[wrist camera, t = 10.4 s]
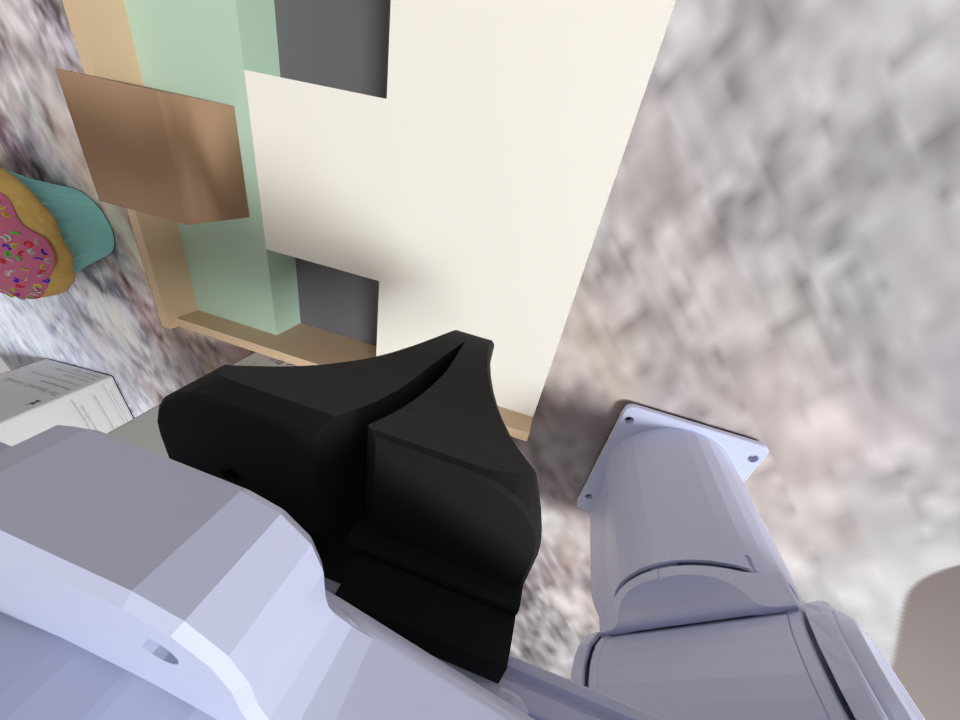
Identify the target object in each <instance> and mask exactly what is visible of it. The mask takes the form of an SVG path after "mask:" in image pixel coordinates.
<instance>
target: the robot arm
mask: <svg viewBox="0 0 960 720" xmlns="http://www.w3.org/2000/svg"><path fill="white" fill-rule="evenodd" d="M493 349H494V343H493V341H492V340H489V339H485V338H482V337H478V336H475V335H472V334H468V333H465V332H461V331H458V330H454V331H451V332H448V333H445V334H443V335H440V336H438V337H435V338H433V339H430V340H427V341H425V342H422V343H419V344H417V345H414V346H411V347H407V348H404V349H401V350H398V351H395V352H392V353H388V354H384V355H380V356H376V357H371V358H366V359H361V360H355V361H347V362H339V363H332V364H323V365H308V366H274V367H273V366H236V365H224V366H222V367H220V368H218V369H216V370H214V371H212V372H210V373H209V374H207V375H205V376H203V377H201V378H199V379H197V380H196V381H194V382H192V383H190V384H188V385H186V386H184V387H183V388H181V389H179V390H177V391H175V392H173V393H171V394H170V395H168V396H166V397H165V398H164V399H163V401H162V402H161V404H160V405H159V410H158V420H157V422H158V426H159V431H160V435H161V437H162V440H163V443H164V445H165V448H166V451H167V453H168V456H169V458H167V457H164V456H162V455H159V454H157V453H154V452H152V451H149V450H146V449H144V448H141V447H139V446H136V445H134V444H131V443H129V442H126V441H124V440H121V439H119V438H116V437H113V436H111V435H108V434H106V433H103V432H101V431H98V430H92V429H86V428H80V427H74V426H64V425H56V426H54V427H52V428H50V429H48V430H45V431H43V432H41V433H39V434H37V435H35V436H33V437H31V438H29V439H26V440H24V441H22V442H20V443H18V444H16V445H14V446H10V445H7V444H5V443H3V442H0V720H925V719H924V717H923V715H922V714H921V712H920V711H919V709H918V708H917V706H916V705H915V703H914V702H913V700H912V699H911V697H910V696H909V694H908V693H907V691H906V689H905V688H904V686H903V685H902V683H901V682H900V680H899V679H898V677H897V676H896V674H895V673H894V671H893V670H892V668H891V667H890V665H889V664H888V662H887V661H886V660H885V658H884V657H883V655H882V654H881V652H880V651H879V649H878V648H877V646H876V645H875V644H874V642H873V641H872V639H871V638H870V637H869V635H868V634H867V633H866V631H865V630H864V629H863V627H862V626H861V625H860V624H859V623H858V621H856V620H855V619H853V618H852V617H850V616H848V615H846V614H844V613H842V612H840V611H838V610H835V609H834V608H833V607H832V606H831V605H830V604H829V603H827V602H825V601H822V600H818V601H815V602H811V603H805V602H804V600H803V598H802V596H801V594H800V592H799V591H798V589H797V587H796V585H795V583H794V581H793V579H792V577H791V575H790V573H789V571H788V569H787V567H786V565H785V563H784V561H783V559H782V557H781V555H780V553H779V551H778V549H777V547H776V546H775V544H774V542H773V540H772V538H771V536H770V534H769V532H768V530H767V528H766V526H765V524H764V522H763V520H762V518H761V516H760V514H759V512H758V510H757V508H756V506H755V504H754V503H753V501H752V499H751V497H750V495H749V493H748V491H747V489H746V487H745V485H744V482H745V481H746V480H747V478H748V477H749V476H750V475H751V474H752V472H753V471H754V470H755V469H756V468H757V467H758V465H759V464H760V463H761V462H762V461H763V459H764V458H765V457H766V456H767V455H768V453H769V450H768V448H767V447H766V445H765V444H764V443H762V442H759V441H756V440H753V439H749V438H746V437H743V436H739V435H736V434H733V433H729V432H726V431H723V430H719V429H716V428H713V427H710V426H706V425H703V424H700V423H696V422H693V421H690V420H686V419H683V418H680V417H676V416H673V415H670V414H667V413H663V412H660V411H657V410H653V409H650V408H647V407H643V406H640V405H637V404H628V405H626V406H625V407H624V408H623V410H622V412H621V414H620V416H619V418H618V420H617V422H616V424H615V426H614V428H613V430H612V432H611V434H610V436H609V438H608V440H607V442H606V443H605V445H604V447H603V449H602V451H601V453H600V455H599V457H598V459H597V461H596V463H595V465H594V467H593V469H592V471H591V473H590V475H589V477H588V479H587V481H586V483H585V485H584V487H583V489H582V491H581V493H580V495H579V497H578V499H577V506H578V508H580V509H581V510H584V511H587V512H590V551H591V592H592V598H593V602H594V605H595V608H596V611H597V613H598V615H599V622H600V632H595V633H591V634H589V635H588V636H586V637H585V638H584V639H583V640H582V642H581V643H580V645H579V647H578V649H577V652H576V654H575V658H574V662H573V667H572V673H571V678H570V680H568V679H566V678H564V677H561V676H559V675H557V674H554V673H552V672H549V671H547V670H545V669H542V668H540V667H537V666H535V665H533V664H530V663H528V662H526V661H523V660H521V659H518V658H516V657H514V656H511V655H509V653H510V647H511V641H512V634H513V628H514V622H515V616H516V615H517V613H518V610H519V607H520V601H521V595H522V588H523V584H524V582H525V580H526V578H527V576H528V574H529V571H530V569H531V567H532V565H533V563H534V561H535V559H536V557H537V555H538V551H539V548H540V543H541V531H542V525H541V505H540V496H539V489H538V483H537V477H536V473H535V471H534V469H533V468H532V467H531V465H530V464H529V463H528V462H527V460H526V459H525V458H524V456H523V455H522V454H521V452H520V451H519V450H518V448H517V447H516V445H515V443H514V442H513V440H512V438H511V436H510V434H509V432H508V430H507V428H506V426H505V424H504V422H503V419H502V417H501V414H500V412H499V409H498V406H497V403H496V399H495V396H494V391H493V386H492V380H491V370H490V362H491V358H492V353H493ZM626 417H632V419H631V420H626V419H625V418H626ZM752 455H755V456H754V457H751V458H749V456H752ZM587 494H591V495H587Z"/></svg>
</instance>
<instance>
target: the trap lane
mask: <svg viewBox="0 0 960 720" xmlns="http://www.w3.org/2000/svg"><path fill="white" fill-rule="evenodd" d="M62 1H63V4H64V8H65V11H66V14H67V17H68V21H69V24H70V27H71V30H72V34H73V37H74V40H75V44H76V47H77V50H78V53H79V57H80V60H81V63H82V66H83V70H84V73H85V74H87V75H92V76H96V77H101V78H106V79H111V80H116V81H121V82H126V83H131V84H136V85H141V86H146V87H151V88H155V89H160V90H164V91H169V92H173V93H178V94H182V95H187V96H191V97H196V98H200V99H205V100H209V101H214V102H218V103H223V104H227V105H232V106H234V109H235V116H236V123H237V130H238V137H239V144H240V151H241V159H242V166H243V173H244V180H245V187H246V194H247V201H248V208H249V216H250V217H248V218H240V219H232V220H224V221H216V222H208V223H200V224H192V225H185V224H181V223H178V222H174V221H171V220H167V219H164V218H160V217H156V216H153V215H149V214H146V213H142V212H139V211H135V210H132V209H128V208H126V210H127V213H128V217H129V220H130V223H131V226H132V230H133V233H134V236H135V239H136V243H137V246H138V249H139V252H140V256H141V259H142V262H143V265H144V269H145V272H146V275H147V279H148V282H149V285H150V288H151V292H152V295H153V298H154V301H155V305H156V308H157V311H158V314H159V318H160V321H161V324H162V327H165V328H168V329H173V328H175V327H181V328H184V329H187V330H190V331H194V332H197V333H200V334H203V335H206V336H209V337H212V338H215V339H218V340H221V341H224V342H227V343H230V344H233V345H236V346H239V347H242V348H245V349H248V350H251V351H254V352H257V353H260V354H263V355H266V356H269V357H272V358H275V359H278V360H281V361H284V362H287V363H290V364H293V365H296V366H308V365H323V364H332V363H339V362H347V361H355V360H361V359H366V358H371V357H376V356H380V355H384V354H388V353H392V352H395V351H398V350H401V349H404V348H407V347H411V346H414V345H417V344H419V343H422V342H425V341H427V340H430V339H433V338H435V337H438V336H440V335H443V334H445V333H448V332H451V331H454V330H458V331H461V332H465V333H468V334H472V335H475V336H478V337H482V338H485V339H489V340H492V341H493V343H494V349H493V353H492V358H491V362H490V370H491V380H492V386H493V391H494V396H495V399H496V403H497V406H498V409H499V412H500V414H501V417H502V419H503V422H504V424H505V426H506V428H507V430H508V432H509V434H510V436H511V437H514V438H517V439H520V440H523V441H526V442H527V440H528V437H529V434H530V429H531V425H532V420H533V416H534V413H535V410H536V407H537V404H538V402H539V399H540V396H541V393H542V390H543V387H544V384H545V381H546V378H547V375H548V372H549V369H550V367H551V364H552V361H553V358H554V355H555V352H556V349H557V346H558V343H559V340H560V337H561V334H562V332H563V329H564V326H565V323H566V320H567V317H568V314H569V311H570V308H571V305H572V302H573V299H574V297H575V294H576V291H577V288H578V285H579V282H580V279H581V276H582V273H583V270H584V267H585V264H586V261H587V259H588V256H589V253H590V250H591V247H592V244H593V241H594V238H595V235H596V232H597V229H598V226H599V224H600V221H601V218H602V215H603V212H604V209H605V206H606V203H607V200H608V197H609V194H610V191H611V189H612V186H613V183H614V180H615V177H616V174H617V171H618V168H619V165H620V162H621V159H622V156H623V154H624V151H625V148H626V145H627V142H628V139H629V136H630V133H631V130H632V127H633V124H634V121H635V119H636V116H637V113H638V110H639V107H640V104H641V101H642V98H643V95H644V92H645V89H646V86H647V84H648V81H649V78H650V75H651V72H652V69H653V66H654V63H655V60H656V57H657V54H658V51H659V49H660V46H661V43H662V40H663V37H664V34H665V31H666V28H667V25H668V22H669V19H670V16H671V14H672V11H673V8H674V5H675V2H676V0H62Z"/></svg>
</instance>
